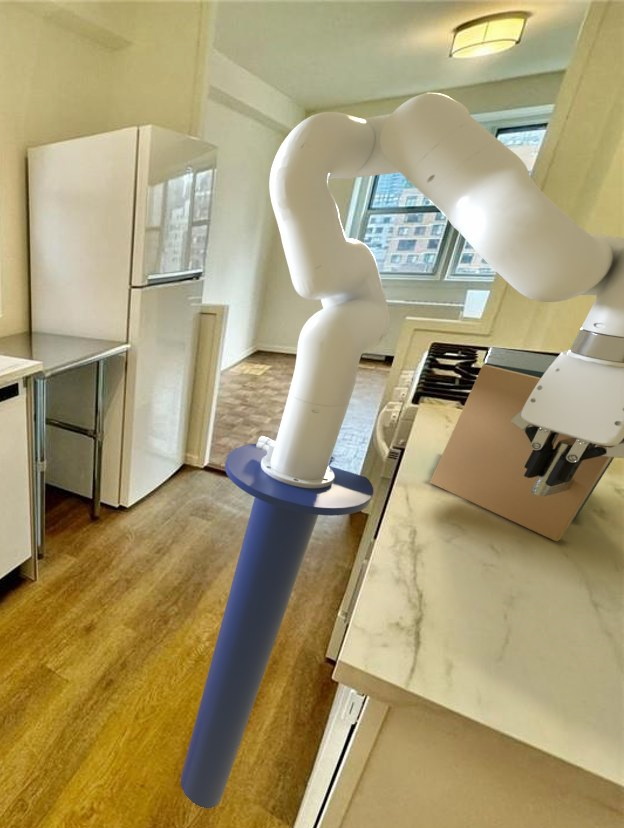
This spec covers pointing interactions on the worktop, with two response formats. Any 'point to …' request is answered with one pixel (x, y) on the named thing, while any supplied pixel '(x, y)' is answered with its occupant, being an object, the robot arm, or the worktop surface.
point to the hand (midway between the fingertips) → (543, 479)
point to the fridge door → (510, 459)
